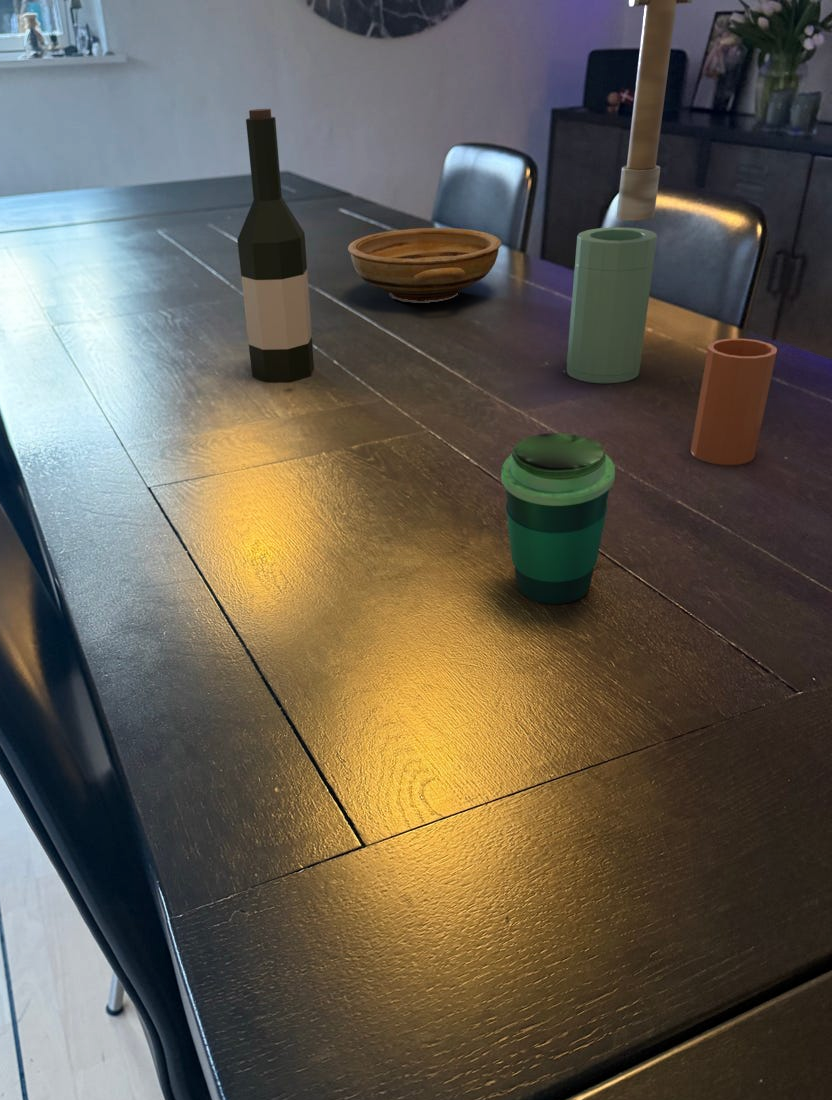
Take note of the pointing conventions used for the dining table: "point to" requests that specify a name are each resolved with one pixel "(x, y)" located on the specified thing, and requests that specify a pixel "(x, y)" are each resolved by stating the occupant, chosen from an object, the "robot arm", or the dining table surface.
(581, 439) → the cup
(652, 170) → the wooden rod
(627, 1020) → the dining table surface
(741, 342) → the cup
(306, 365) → the wine bottle
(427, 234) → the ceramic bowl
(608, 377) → the mint green tube
